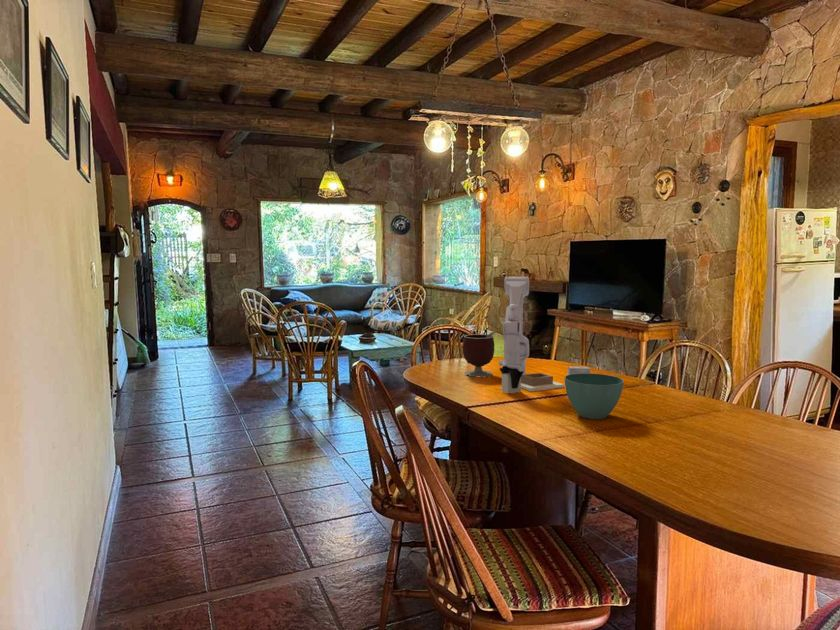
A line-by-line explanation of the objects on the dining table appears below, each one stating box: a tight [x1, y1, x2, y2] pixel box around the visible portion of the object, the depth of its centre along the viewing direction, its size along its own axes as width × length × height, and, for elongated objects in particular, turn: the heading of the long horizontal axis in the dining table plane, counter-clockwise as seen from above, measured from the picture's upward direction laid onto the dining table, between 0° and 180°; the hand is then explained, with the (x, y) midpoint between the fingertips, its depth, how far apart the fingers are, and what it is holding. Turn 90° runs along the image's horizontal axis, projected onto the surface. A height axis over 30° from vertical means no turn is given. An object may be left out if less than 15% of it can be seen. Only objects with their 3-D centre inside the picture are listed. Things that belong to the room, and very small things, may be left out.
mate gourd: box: [462, 330, 499, 378], centre depth 252 cm, size 16×14×20 cm
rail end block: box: [501, 373, 522, 394], centre depth 219 cm, size 4×6×7 cm, turn 116°
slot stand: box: [521, 372, 565, 392], centre depth 229 cm, size 14×16×4 cm
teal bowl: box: [564, 372, 625, 420], centre depth 184 cm, size 18×18×12 cm
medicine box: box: [567, 366, 591, 375], centre depth 223 cm, size 8×4×9 cm, turn 84°
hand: (511, 386), depth 219 cm, fingers closed on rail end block, 4 cm apart
